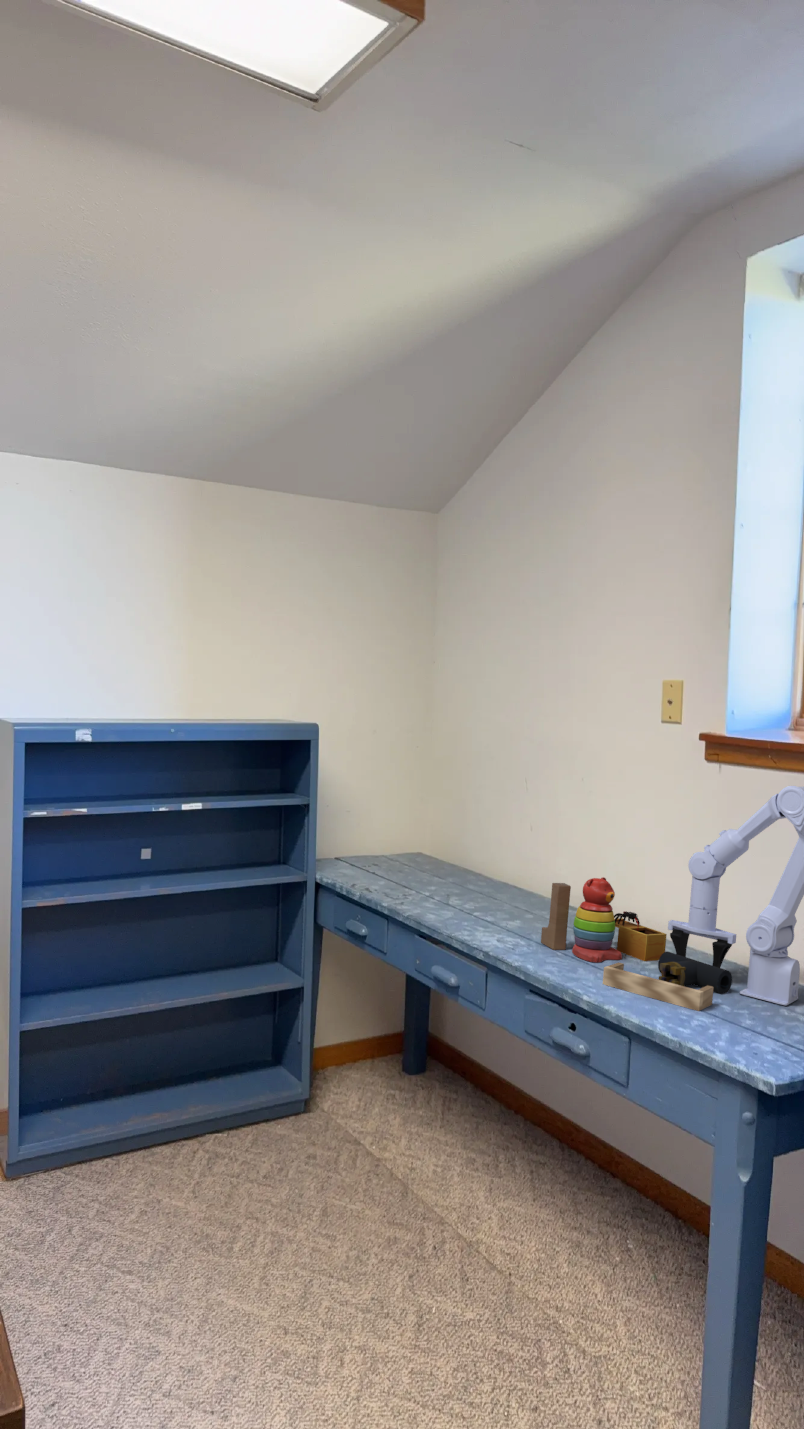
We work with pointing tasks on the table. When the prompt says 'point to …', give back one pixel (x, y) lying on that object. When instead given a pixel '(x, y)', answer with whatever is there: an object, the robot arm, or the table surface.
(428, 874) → the table surface
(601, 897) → the stacking bear
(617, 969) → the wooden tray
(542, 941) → the wooden block
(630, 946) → the spider toy trap
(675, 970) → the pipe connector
